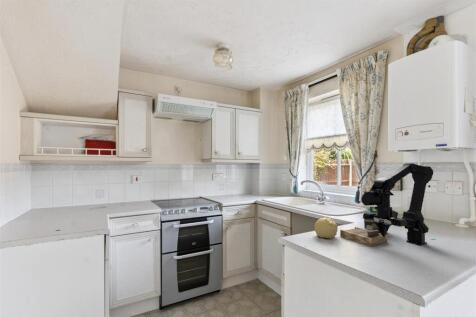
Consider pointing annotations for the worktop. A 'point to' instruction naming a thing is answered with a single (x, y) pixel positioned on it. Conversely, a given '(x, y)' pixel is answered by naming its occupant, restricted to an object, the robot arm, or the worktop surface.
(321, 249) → the worktop surface
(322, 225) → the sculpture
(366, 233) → the cover plate
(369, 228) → the chalk box
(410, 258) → the worktop surface
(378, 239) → the tan wooden rectangular frame
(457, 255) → the worktop surface
